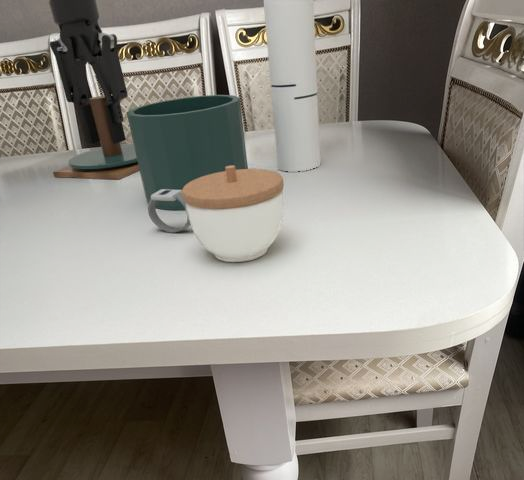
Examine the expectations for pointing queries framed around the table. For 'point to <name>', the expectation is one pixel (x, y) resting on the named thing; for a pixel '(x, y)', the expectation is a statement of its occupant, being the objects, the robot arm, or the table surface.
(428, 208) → the table surface
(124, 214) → the table surface
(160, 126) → the canister
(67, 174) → the board
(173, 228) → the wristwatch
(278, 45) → the cylindrical container
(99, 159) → the lid
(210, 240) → the trinket box
